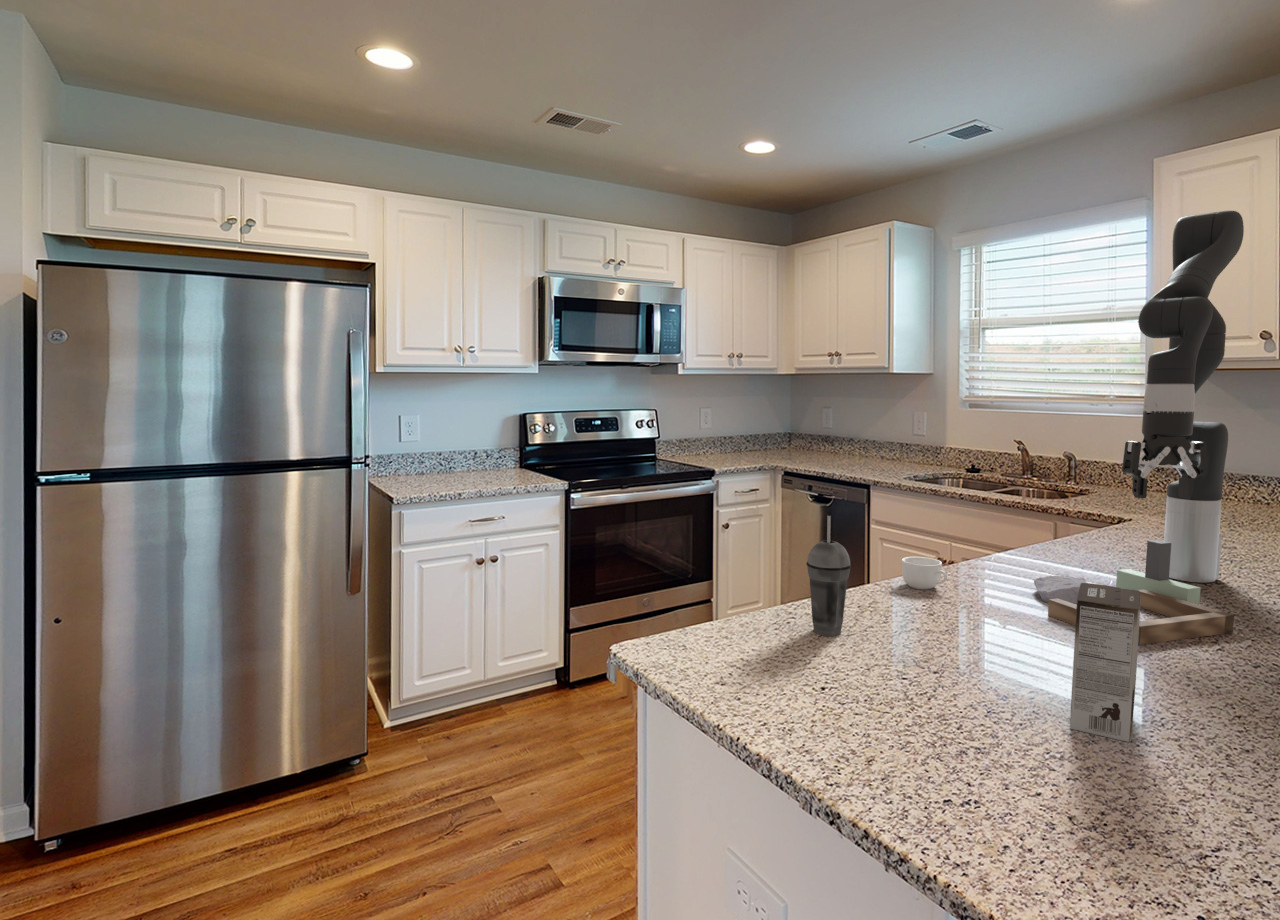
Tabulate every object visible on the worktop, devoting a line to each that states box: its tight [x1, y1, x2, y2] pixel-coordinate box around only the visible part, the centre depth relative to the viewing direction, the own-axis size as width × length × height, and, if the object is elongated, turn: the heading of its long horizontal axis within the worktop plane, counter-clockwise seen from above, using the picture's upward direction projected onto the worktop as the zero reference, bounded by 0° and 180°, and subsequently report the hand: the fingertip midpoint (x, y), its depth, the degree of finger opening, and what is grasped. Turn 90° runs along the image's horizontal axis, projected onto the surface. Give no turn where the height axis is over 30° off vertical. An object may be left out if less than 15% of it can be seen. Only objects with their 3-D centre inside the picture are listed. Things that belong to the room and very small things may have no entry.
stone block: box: [1033, 575, 1088, 605], centre depth 141 cm, size 12×5×10 cm
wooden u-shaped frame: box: [1047, 589, 1235, 646], centre depth 125 cm, size 22×16×3 cm
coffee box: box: [1069, 582, 1141, 743], centre depth 89 cm, size 9×6×16 cm
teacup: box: [901, 556, 948, 590], centre depth 149 cm, size 10×8×5 cm
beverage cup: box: [806, 515, 852, 637], centre depth 122 cm, size 7×7×20 cm
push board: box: [1115, 539, 1202, 605], centre depth 136 cm, size 14×3×12 cm, turn 16°
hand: (1162, 497), depth 133 cm, fingers open, 8 cm apart
